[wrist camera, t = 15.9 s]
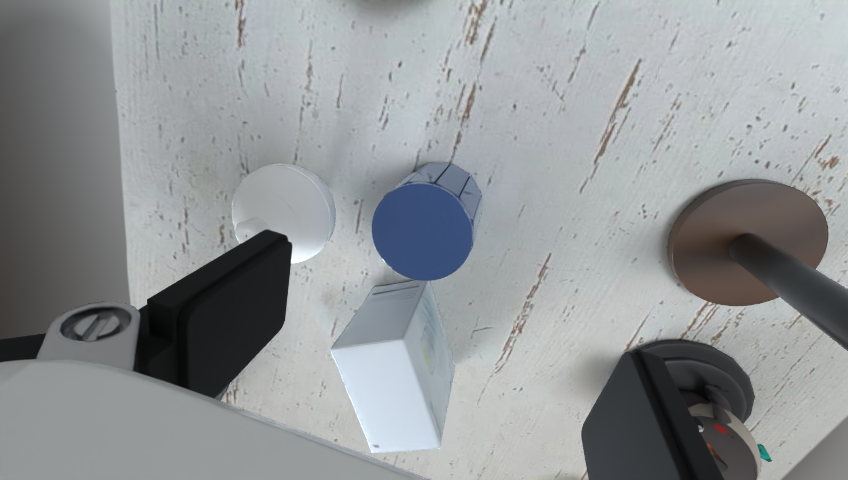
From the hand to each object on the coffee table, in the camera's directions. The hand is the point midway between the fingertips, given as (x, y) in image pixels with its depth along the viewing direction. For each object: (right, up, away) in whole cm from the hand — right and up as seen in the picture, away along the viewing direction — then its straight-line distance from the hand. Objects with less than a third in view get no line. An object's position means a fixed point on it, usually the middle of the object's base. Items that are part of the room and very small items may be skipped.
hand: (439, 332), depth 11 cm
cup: (+1, +6, +24) cm, 25 cm away
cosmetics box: (-1, -6, +29) cm, 30 cm away
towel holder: (+24, +2, +20) cm, 31 cm away
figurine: (+23, -11, +26) cm, 36 cm away
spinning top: (-9, +7, +26) cm, 29 cm away
